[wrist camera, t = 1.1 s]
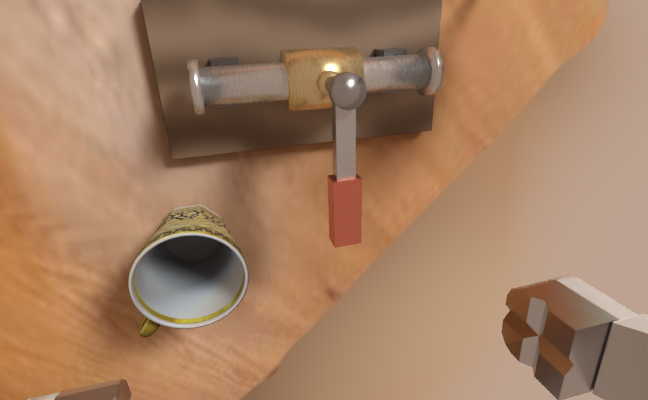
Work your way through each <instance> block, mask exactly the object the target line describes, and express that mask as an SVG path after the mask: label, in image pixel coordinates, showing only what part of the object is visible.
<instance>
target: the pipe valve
mask: <svg viewBox="0 0 648 400" xmlns="http://www.w3.org/2000/svg"><path fill="white" fill-rule="evenodd" d="M210 65H211V67H199V65H198V60H187V69H188V76H189V83H190V89H191V95H192V101H193V106H194V111H195V115H206V111H205V107H215V106H217V107H227V106H239V105H244V104H251V103H263V102H275V101H283V103H284V107H285V109H286V111H287V112H294V111H305V110H317V109H328V108H332V101H331V100H330V98H329V94H328V92H327V91H326V89H325V81H326V80H327V78H328V77H330V76H336V75H337V74H339V73H341V72H351V73H354V74H357V75H359V76H360V77H362V79H363V80H364V81H365V84H366V87H367V94H371V93H395V92H405V91H408V90H416V91H417V92H418V93H419V94H420V95H422V96H425V95H433V94H435V93H436V92H437V91H438V89H439V88H440V86H441V83H442V79H443V60H442V56H441V54H440V52H439V50H438V49H437V48H435V47H422V48H421V49H419V50H418V52H417V53H416V54H414V55H407V49H402V48H384V49H374V57H363V58H362V57H361V54H360V52H359V50H358V48H357V47H355V46H346V47H327V48H307V49H288V50H281V52H280V57H279V63H262V64H245V65H239V58H238V57H218V58H210Z"/></svg>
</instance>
